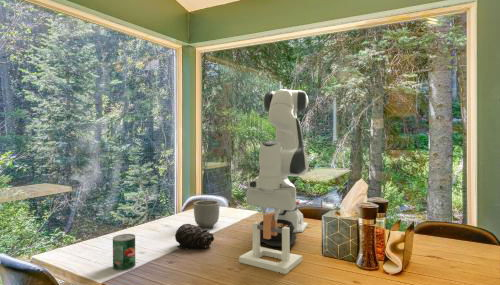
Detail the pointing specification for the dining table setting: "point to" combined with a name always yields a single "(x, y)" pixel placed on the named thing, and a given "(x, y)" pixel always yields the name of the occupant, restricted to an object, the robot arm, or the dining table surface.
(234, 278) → the dining table surface
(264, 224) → the orange block
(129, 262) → the canned tomato
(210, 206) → the planter
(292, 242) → the casserole
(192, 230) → the pine cone
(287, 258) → the toilet paper holder
